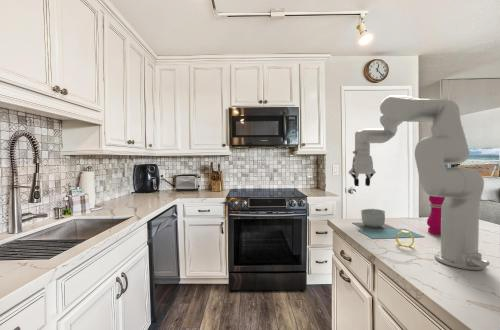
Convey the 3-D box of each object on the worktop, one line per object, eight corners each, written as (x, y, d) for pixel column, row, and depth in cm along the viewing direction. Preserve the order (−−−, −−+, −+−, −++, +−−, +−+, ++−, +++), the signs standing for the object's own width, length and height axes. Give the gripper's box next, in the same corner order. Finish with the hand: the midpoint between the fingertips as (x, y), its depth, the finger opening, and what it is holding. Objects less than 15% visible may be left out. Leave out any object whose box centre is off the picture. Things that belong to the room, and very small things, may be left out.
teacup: (382, 230, 117) (383, 213, 116) (358, 226, 123) (358, 211, 123) (387, 224, 128) (387, 208, 127) (364, 221, 134) (365, 206, 134)
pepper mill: (439, 230, 116) (440, 188, 116) (450, 235, 109) (451, 191, 109) (423, 230, 117) (423, 188, 117) (433, 235, 110) (433, 190, 109)
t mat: (424, 237, 107) (424, 236, 107) (372, 238, 105) (372, 238, 105) (388, 222, 132) (388, 221, 132) (345, 223, 130) (345, 223, 130)
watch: (413, 247, 97) (415, 232, 96) (412, 249, 94) (414, 234, 94) (396, 242, 100) (397, 228, 100) (394, 244, 98) (396, 230, 98)
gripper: (350, 153, 131) (350, 186, 131) (381, 153, 132) (380, 186, 133) (344, 153, 138) (343, 185, 139) (373, 153, 140) (372, 184, 140)
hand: (362, 185), depth 136 cm, fingers open, 5 cm apart
